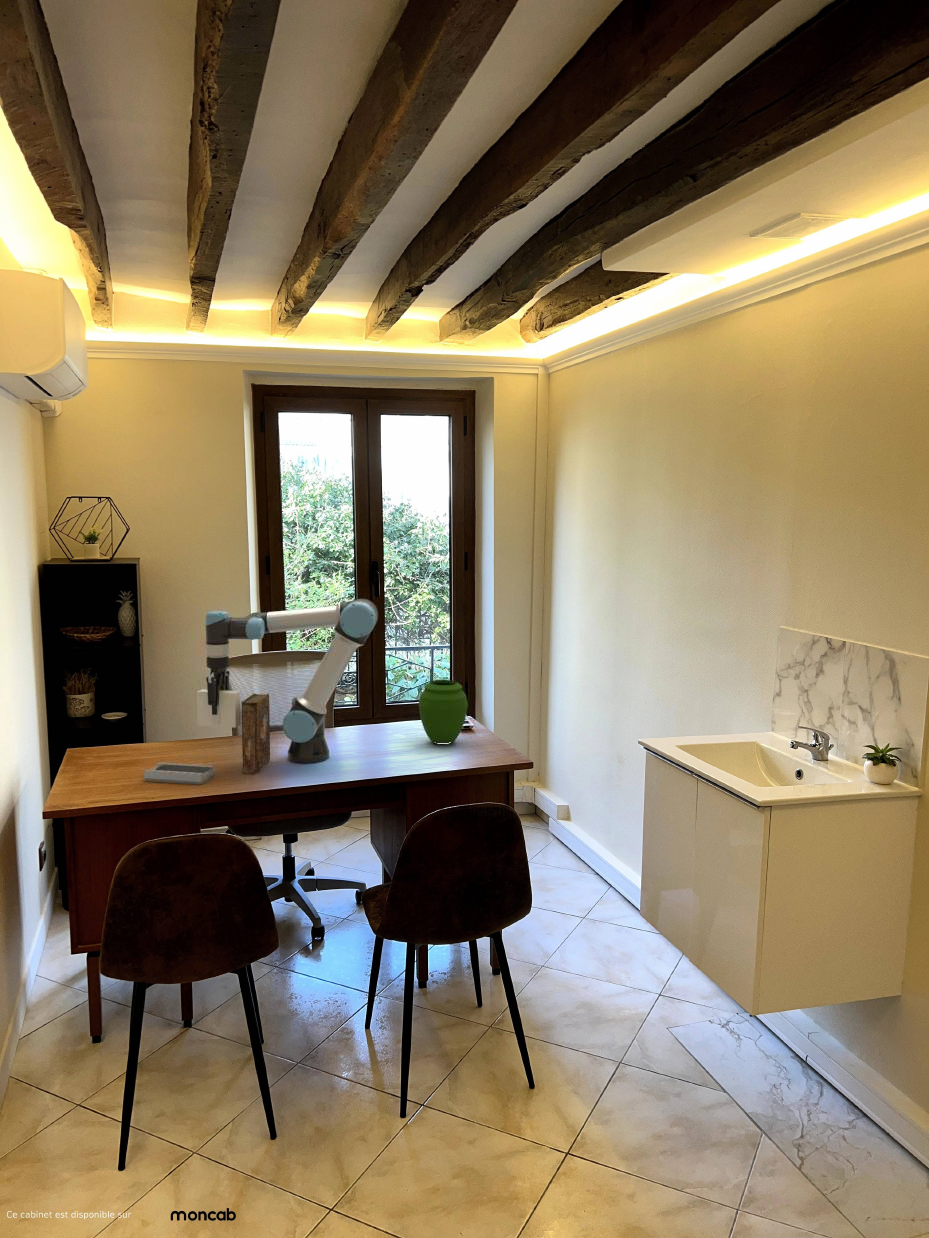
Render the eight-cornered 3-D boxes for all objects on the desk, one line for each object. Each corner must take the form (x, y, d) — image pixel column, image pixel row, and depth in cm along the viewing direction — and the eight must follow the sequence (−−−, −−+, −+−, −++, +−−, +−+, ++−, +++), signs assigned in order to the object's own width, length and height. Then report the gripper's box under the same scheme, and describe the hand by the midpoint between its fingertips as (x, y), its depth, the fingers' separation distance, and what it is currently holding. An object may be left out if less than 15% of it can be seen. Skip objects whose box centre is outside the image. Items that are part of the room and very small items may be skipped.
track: (214, 775, 278) (213, 765, 278) (201, 784, 269) (200, 774, 269) (159, 772, 281) (159, 762, 281) (144, 780, 272) (144, 770, 271)
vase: (416, 736, 333) (417, 677, 330) (464, 735, 335) (465, 677, 332) (419, 749, 314) (420, 687, 311) (469, 749, 316) (470, 687, 313)
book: (257, 774, 281) (256, 703, 278) (241, 774, 281) (240, 702, 278) (270, 760, 297) (269, 693, 294) (255, 760, 297) (254, 692, 294)
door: (241, 724, 287) (240, 690, 286) (235, 727, 283) (234, 693, 281) (203, 722, 289) (202, 689, 288) (197, 725, 285) (196, 691, 283)
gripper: (218, 651, 292) (219, 715, 294) (195, 659, 275) (197, 727, 278) (238, 652, 291) (239, 716, 293) (216, 660, 274) (218, 728, 277)
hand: (219, 721), depth 286 cm, fingers closed on door, 4 cm apart
